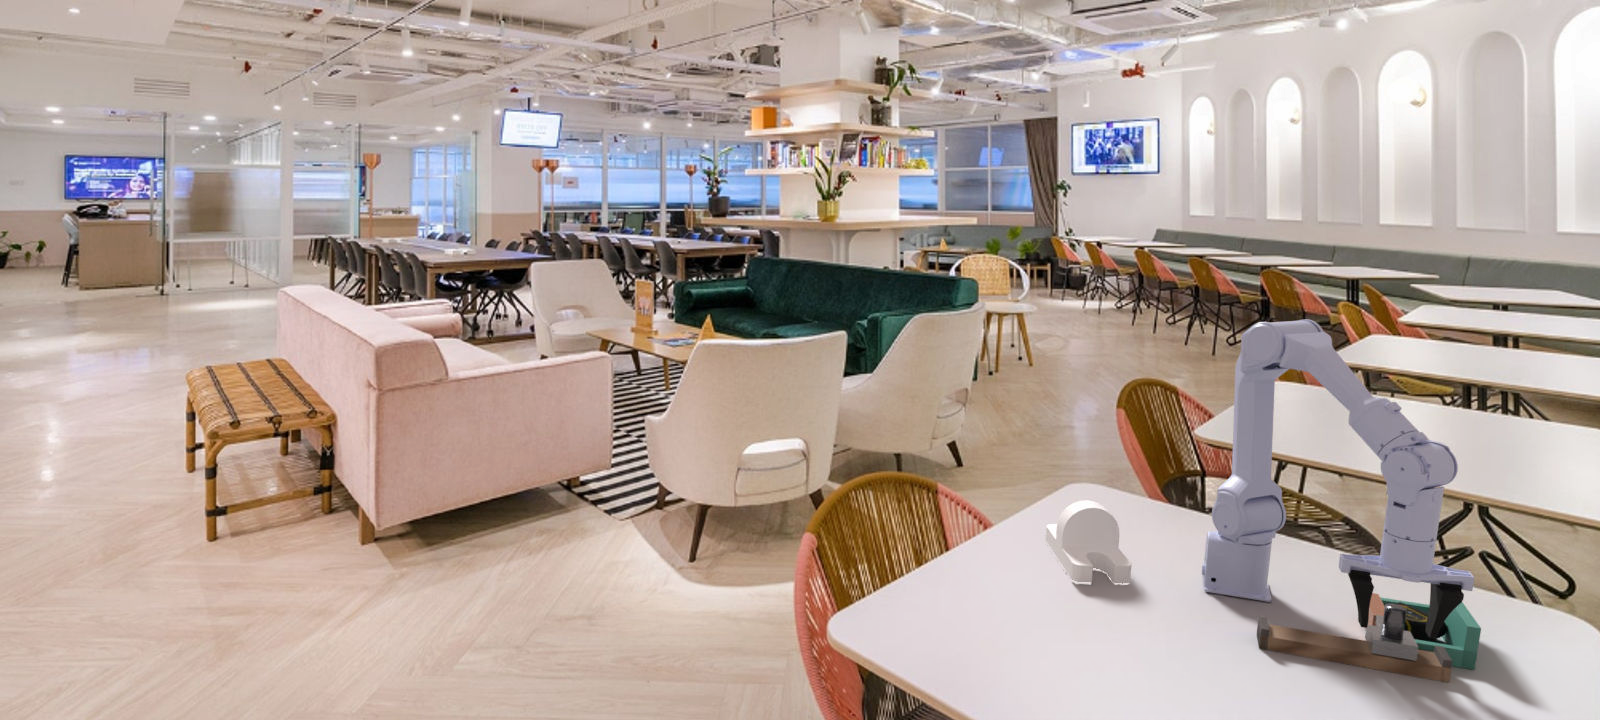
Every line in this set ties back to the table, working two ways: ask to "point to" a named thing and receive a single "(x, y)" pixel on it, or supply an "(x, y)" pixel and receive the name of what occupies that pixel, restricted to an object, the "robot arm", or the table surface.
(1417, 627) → the tape measure
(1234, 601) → the table surface
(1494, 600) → the table surface
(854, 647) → the table surface
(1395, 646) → the rod slider
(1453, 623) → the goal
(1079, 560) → the white slotted holder
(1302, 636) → the rail
